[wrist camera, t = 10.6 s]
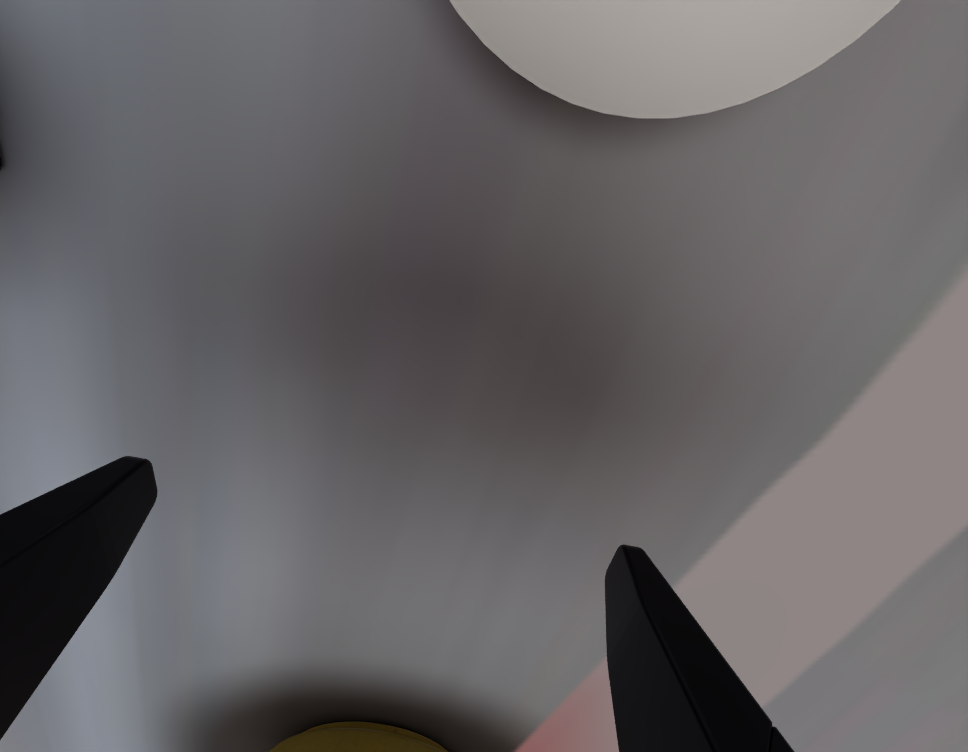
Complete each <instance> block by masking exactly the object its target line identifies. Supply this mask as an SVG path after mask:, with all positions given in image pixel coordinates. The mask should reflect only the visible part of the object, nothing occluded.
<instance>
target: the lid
mask: <svg viewBox="0 0 968 752" xmlns="http://www.w3.org/2000/svg"><path fill="white" fill-rule="evenodd" d="M900 1H901V0H450V2H451V4H452V5H453V7H454V8H455V10H456V11H457V13H458V14H459V15H460V16H461V18H462V19H463V20H464V21H465V22H466V24H467V25H468V26H469V27H470V28H471V29H472V31H473V32H474V33H475V34H476V35H477V36H478V38H479V39H480V40H481V41H482V42H483V44H484V45H485V46H487V47H488V48H489V49H490V50H491V51H492V52H493V53H494V54H495V55H497V56H498V57H499V58H500V59H501V60H502V61H503V62H504V63H505V64H507V65H508V66H509V67H510V68H511V69H512V70H514V71H515V72H517V73H518V74H520V75H521V76H523V77H524V78H526V79H527V80H528V81H530V82H531V83H533V84H534V85H536V86H537V87H539V88H540V89H542V90H544V91H546V92H548V93H550V94H553V95H555V96H557V97H559V98H561V99H563V100H565V101H567V102H569V103H571V104H574V105H578V106H581V107H584V108H587V109H591V110H594V111H597V112H601V113H604V114H611V115H617V116H624V117H631V118H678V117H685V116H692V115H699V114H706V113H710V112H714V111H717V110H721V109H724V108H728V107H732V106H735V105H739V104H742V103H745V102H747V101H750V100H752V99H755V98H757V97H759V96H762V95H764V94H767V93H769V92H771V91H774V90H776V89H779V88H781V87H783V86H784V85H786V84H788V83H790V82H792V81H793V80H795V79H797V78H799V77H801V76H802V75H804V74H806V73H808V72H810V71H811V70H813V69H815V68H817V67H818V66H820V65H821V64H823V63H824V62H825V61H827V60H828V59H830V58H831V57H833V56H834V55H836V54H837V53H838V52H840V51H841V50H843V49H844V48H846V47H847V46H848V45H850V44H851V43H853V42H854V41H855V40H857V39H858V38H859V37H860V36H861V35H862V34H864V33H865V32H866V31H867V30H868V29H870V28H871V27H872V26H873V25H874V24H875V23H877V22H878V21H879V20H880V19H881V18H882V17H884V16H885V15H886V14H887V13H888V12H889V11H891V10H892V9H893V8H894V7H895V6H896V5H897V4H898V3H899V2H900Z"/></svg>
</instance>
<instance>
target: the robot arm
mask: <svg viewBox="0 0 968 752" xmlns="http://www.w3.org/2000/svg"><path fill="white" fill-rule="evenodd" d="M1 167H2V164H1V159H0V169H1ZM156 498H157V486H156V481H155V476H154V471H153V467H152V463H151V462H150V461H149V460H147V459H143V458H138V457H132V456H125V457H122V458H119V459H117V460H115V461H113V462H111V463H109V464H107V465H104V466H102V467H100V468H98V469H96V470H94V471H92V472H90V473H88V474H85V475H83V476H81V477H79V478H77V479H75V480H73V481H71V482H68V483H66V484H64V485H62V486H60V487H58V488H56V489H54V490H52V491H49V492H47V493H45V494H43V495H41V496H39V497H37V498H35V499H32V500H30V501H28V502H26V503H24V504H22V505H20V506H18V507H16V508H13V509H11V510H9V511H7V512H5V513H3V514H1V515H0V740H1V738H2V737H3V735H4V734H5V732H6V731H7V730H8V728H9V727H10V725H11V724H12V722H13V721H14V720H15V718H16V717H17V715H18V714H19V712H20V711H21V709H22V708H23V707H24V705H25V704H26V702H27V701H28V699H29V698H30V697H31V695H32V694H33V692H34V691H35V689H36V688H37V687H38V685H39V684H40V682H41V681H42V679H43V678H44V676H45V675H46V674H47V672H48V671H49V669H50V668H51V666H52V665H53V664H54V662H55V661H56V659H57V658H58V656H59V655H60V654H61V652H62V651H63V649H64V648H65V646H66V645H67V643H68V642H69V641H70V639H71V638H72V636H73V635H74V633H75V632H76V631H77V629H78V628H79V626H80V625H81V623H82V622H83V621H84V619H85V618H86V616H87V615H88V613H89V612H90V611H91V609H92V608H93V606H94V605H95V603H96V602H97V600H98V599H99V598H100V596H101V595H102V593H103V592H104V590H105V589H106V587H107V586H108V584H109V583H110V581H111V580H112V578H113V577H114V575H115V573H116V572H117V570H118V568H119V567H120V565H121V563H122V561H123V559H124V558H125V556H126V554H127V552H128V550H129V549H130V547H131V545H132V543H133V541H134V540H135V538H136V536H137V534H138V532H139V531H140V529H141V527H142V525H143V523H144V522H145V520H146V518H147V516H148V514H149V513H150V511H151V509H152V507H153V505H154V503H155V501H156ZM605 605H606V642H607V662H608V671H609V680H610V687H611V694H612V702H613V709H614V716H615V724H616V731H617V738H618V746H619V752H794V751H793V749H792V748H791V747H790V745H789V744H788V743H787V741H786V740H785V739H784V737H783V736H782V735H781V733H780V732H779V731H778V729H777V728H776V727H772V722H771V720H770V719H769V717H768V716H767V715H766V713H765V712H764V711H763V709H762V708H761V707H760V705H759V704H758V703H757V701H756V700H755V699H754V697H753V696H752V695H751V693H750V692H749V691H748V690H747V688H746V687H745V685H744V684H743V683H742V681H741V680H740V679H739V677H738V676H737V675H736V673H735V672H734V671H733V669H732V668H731V667H730V665H729V664H728V663H727V661H726V660H725V659H724V657H723V656H722V655H721V653H720V652H719V651H718V649H717V648H716V647H715V646H714V644H713V642H712V641H711V640H710V639H709V637H708V636H707V634H706V633H705V632H704V630H703V629H702V628H701V626H700V625H699V624H698V622H697V621H696V620H695V618H694V617H693V616H692V615H691V613H690V612H689V610H688V609H687V608H686V606H685V605H684V604H683V602H682V601H681V600H680V598H679V597H678V596H677V594H676V593H675V592H674V590H673V589H672V588H671V586H670V585H669V583H668V582H667V581H666V579H665V578H664V577H663V575H662V574H661V573H660V571H659V570H658V569H657V567H656V566H655V565H654V563H653V562H652V561H651V559H650V558H649V557H648V555H647V554H646V553H645V551H644V550H642V549H641V548H639V547H635V546H629V545H620V546H619V547H618V549H617V551H616V553H615V555H614V557H613V559H612V561H611V563H610V565H609V567H608V569H607V571H606V576H605Z"/></svg>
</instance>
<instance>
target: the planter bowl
mask: <svg viewBox="0 0 968 752" xmlns="http://www.w3.org/2000/svg"><path fill="white" fill-rule="evenodd" d="M269 752H448V751H447V750H446V749H444V748H443V747H442V746H440V745H439V744H437V743H436V742H434V741H432V740H430V739H428V738H426V737H424V736H422V735H420V734H417V733H414V732H412V731H409V730H406V729H402V728H399V727H395V726H390V725H384V724H379V723H371V722H350V721H348V722H336V723H329V724H323V725H319V726H316V727H313V728H311V729H308V730H306V731H304V732H302V733H301V734H298V735H295V736H292V737H290V738H288V739H286V740H284V741H282V742H281V743H279V744H278V745H276V746H275V747H274V748H272V749H271V750H270V751H269Z"/></svg>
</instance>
